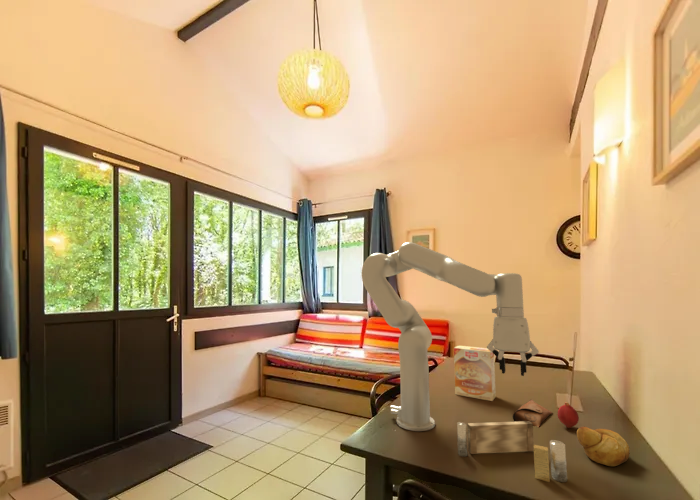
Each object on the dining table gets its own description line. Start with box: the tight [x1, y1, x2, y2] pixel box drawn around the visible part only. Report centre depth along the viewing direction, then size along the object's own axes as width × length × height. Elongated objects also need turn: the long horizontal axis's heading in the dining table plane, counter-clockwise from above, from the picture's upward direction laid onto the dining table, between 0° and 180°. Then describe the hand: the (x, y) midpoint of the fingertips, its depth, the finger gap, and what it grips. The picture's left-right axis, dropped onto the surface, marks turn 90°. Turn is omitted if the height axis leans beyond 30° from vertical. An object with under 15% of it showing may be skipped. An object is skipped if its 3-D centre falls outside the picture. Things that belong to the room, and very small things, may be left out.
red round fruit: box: [556, 401, 580, 429], centre depth 109 cm, size 6×6×8 cm
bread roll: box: [576, 426, 631, 467], centre depth 90 cm, size 13×10×8 cm
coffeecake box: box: [453, 345, 497, 402], centre depth 141 cm, size 15×7×20 cm, turn 56°
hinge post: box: [456, 421, 468, 458], centre depth 92 cm, size 2×2×8 cm
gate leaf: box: [466, 421, 535, 455], centre depth 93 cm, size 18×2×7 cm, turn 95°
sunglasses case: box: [512, 399, 553, 428], centre depth 118 cm, size 18×7×7 cm
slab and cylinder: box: [533, 439, 568, 483], centre depth 81 cm, size 7×5×8 cm
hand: (513, 373), depth 102 cm, fingers open, 4 cm apart
